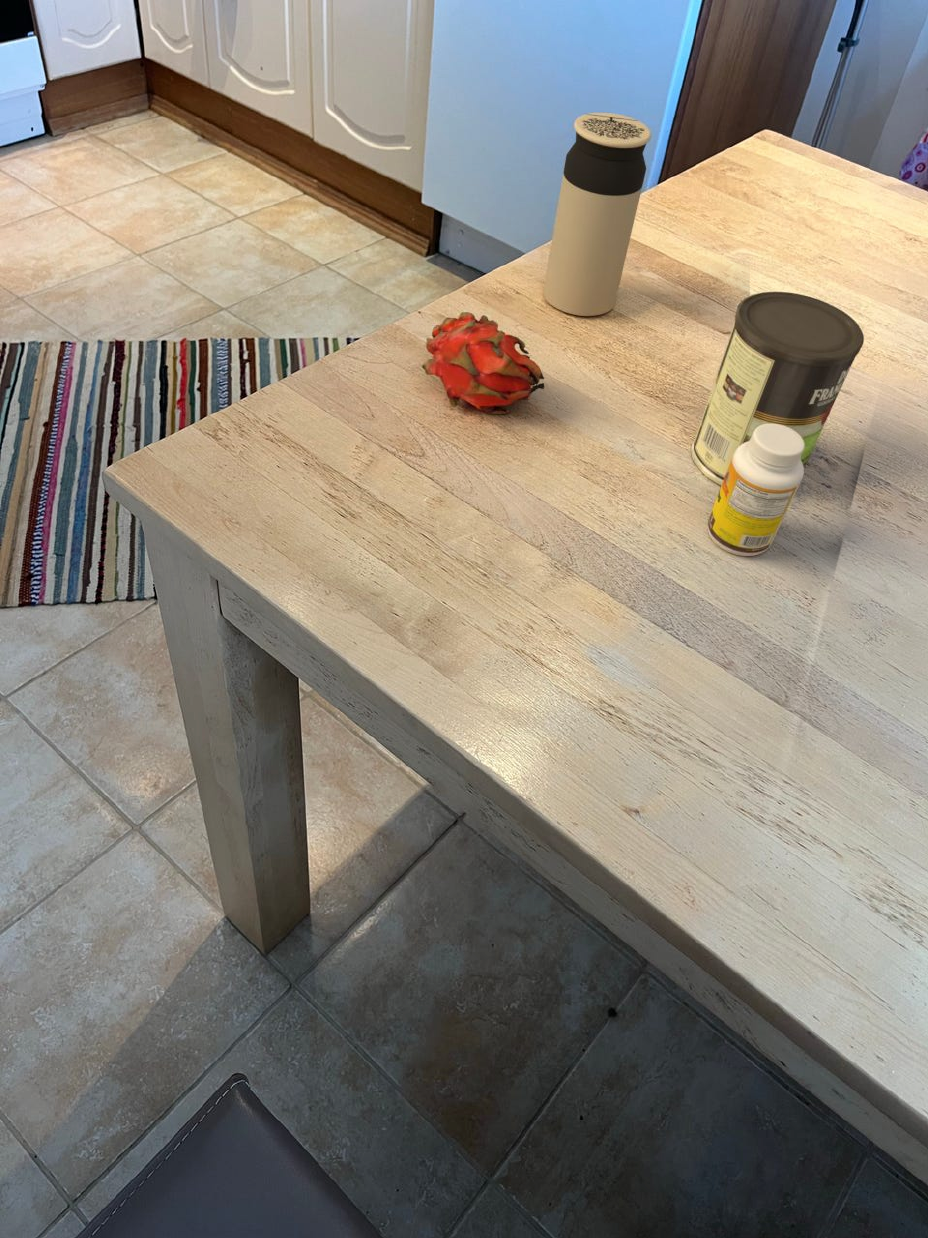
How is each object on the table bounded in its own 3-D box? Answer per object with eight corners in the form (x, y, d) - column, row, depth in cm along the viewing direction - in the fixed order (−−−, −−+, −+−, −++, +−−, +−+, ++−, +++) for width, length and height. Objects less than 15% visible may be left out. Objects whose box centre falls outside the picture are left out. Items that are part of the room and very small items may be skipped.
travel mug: (610, 324, 101) (651, 149, 88) (537, 310, 102) (567, 134, 88) (617, 289, 106) (656, 119, 93) (548, 275, 107) (577, 105, 94)
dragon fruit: (418, 384, 93) (525, 440, 91) (392, 376, 85) (509, 437, 83) (456, 302, 91) (566, 358, 89) (433, 285, 83) (554, 347, 81)
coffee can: (818, 460, 88) (882, 323, 78) (773, 513, 82) (836, 373, 72) (720, 413, 92) (769, 276, 81) (670, 461, 86) (715, 320, 75)
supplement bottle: (726, 505, 82) (766, 407, 75) (782, 538, 80) (829, 440, 72) (691, 534, 79) (730, 435, 72) (748, 569, 77) (794, 471, 69)
